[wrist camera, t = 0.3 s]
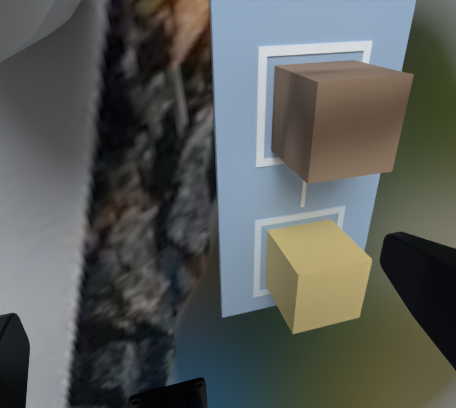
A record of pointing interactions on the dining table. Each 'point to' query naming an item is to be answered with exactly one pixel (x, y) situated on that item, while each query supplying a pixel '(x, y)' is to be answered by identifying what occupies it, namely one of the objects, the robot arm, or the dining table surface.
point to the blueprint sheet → (262, 125)
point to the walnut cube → (338, 118)
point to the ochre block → (315, 274)
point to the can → (30, 22)
